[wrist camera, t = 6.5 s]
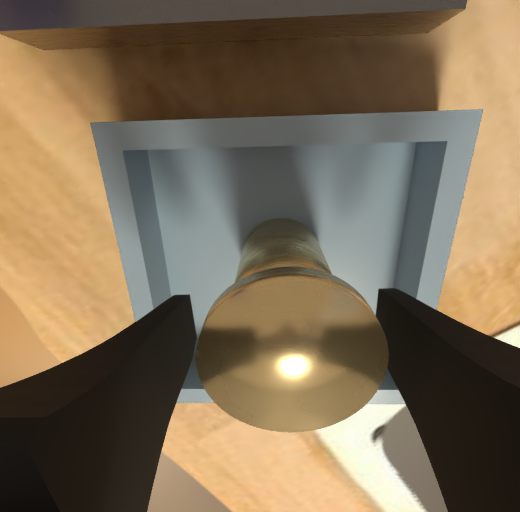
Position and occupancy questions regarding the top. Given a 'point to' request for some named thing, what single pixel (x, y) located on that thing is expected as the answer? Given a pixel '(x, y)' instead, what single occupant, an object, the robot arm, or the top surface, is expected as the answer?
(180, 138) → the tray
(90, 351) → the robot arm
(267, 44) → the top surface
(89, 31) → the block
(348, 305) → the lock pin
